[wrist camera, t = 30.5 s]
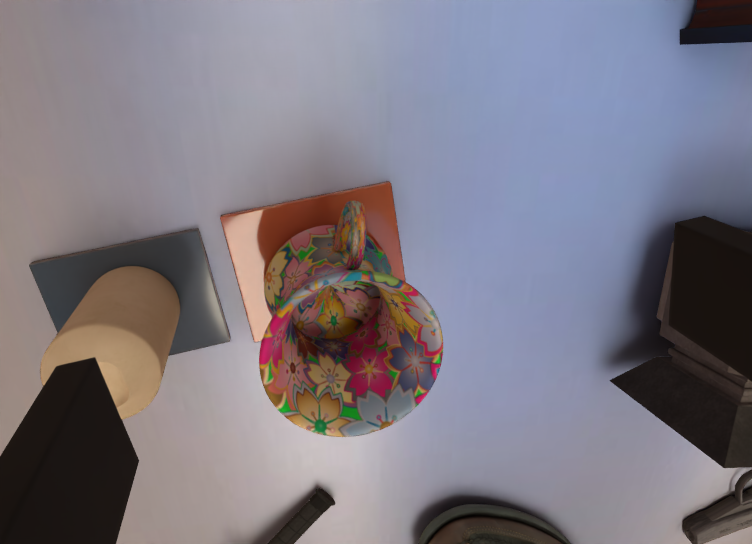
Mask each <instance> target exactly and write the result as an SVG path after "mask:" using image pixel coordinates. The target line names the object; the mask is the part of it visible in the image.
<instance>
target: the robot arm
mask: <svg viewBox="0 0 752 544" xmlns="http://www.w3.org/2000/svg"><path fill="white" fill-rule="evenodd" d="M668 325H669V326H670V327H672V328H673V329H675V330H676V331H678V332H679V333H681V334H682V335H684V336H685V337H687V338H688V339H690V340H691V341H693V342H694V343H696V344H697V345H699V346H700V347H702V348H703V349H705V350H706V351H707V352H709V353H710V354H712V355H713V356H715V357H716V358H718V359H719V360H721V361H722V362H724V363H725V364H727V365H728V366H730V367H731V368H733V369H734V370H736V371H737V372H739V373H740V374H741V375H743V376H744V377H746V378H747V379H749V380H750V381H752V234H751V233H748V232H746V231H743V230H740V229H738V228H735V227H732V226H730V225H727V224H724V223H722V222H719V221H717V220H714V219H711V218H709V217H706V216H702V217H698V218H693V219H689V220H685V221H680V222H676V223H675V230H674V245H673V261H672V277H671V292H670V308H669V323H668ZM138 462H139V460H138V457H137V455H136V452H135V450H134V448H133V445H132V443H131V441H130V438H129V436H128V434H127V431H126V429H125V426H124V424H123V422H122V419H121V417H120V415H119V412H118V410H117V408H116V405H115V403H114V400H113V398H112V396H111V393H110V391H109V389H108V386H107V384H106V382H105V379H104V377H103V375H102V372H101V370H100V367H99V365H98V363H97V360H96V358H95V357H93V358H89V359H84V360H80V361H76V362H71V363H67V364H63V365H59V366H56V367H55V369H54V370H53V372H52V374H51V375H50V377H49V378H48V380H47V382H46V383H45V385H44V387H43V388H42V390H41V391H40V393H39V395H38V396H37V398H36V400H35V401H34V403H33V404H32V406H31V408H30V409H29V411H28V412H27V414H26V416H25V417H24V419H23V421H22V422H21V424H20V425H19V427H18V429H17V430H16V432H15V434H14V435H13V437H12V438H11V440H10V442H9V443H8V445H7V446H6V448H5V450H4V451H3V453H2V455H1V456H0V544H116V541H117V538H118V534H119V531H120V527H121V523H122V520H123V516H124V513H125V509H126V505H127V502H128V498H129V495H130V491H131V487H132V484H133V480H134V477H135V473H136V469H137V466H138Z"/></svg>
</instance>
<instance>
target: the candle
mask: <svg viewBox="0 0 752 544" xmlns="http://www.w3.org/2000/svg"><path fill="white" fill-rule="evenodd" d="M179 315H180V303H179V298H178V295H177V292H176V290H175V289H174V287H173V285H172V284H171V283H170V282H169V281H168V280H167V279H166V278H165V277H163V276H162V275H161V274H159V273H157V272H155V271H153V270H151V269H148V268H144V267H139V266H125V267H120V268H116V269H113V270H111V271H109V272H107V273H106V274H104V275H103V276H101V277H100V278H99V279H98V280H97V281H96V282H95V283H94V284H93V285H92V287H91V288H90V289H89V291H88V292H87V294H86V295H85V296H84V298H83V299H82V301H81V302H80V303H79V305H78V306H77V308H76V309H75V310H74V312H73V313H72V315H71V316H70V317H69V319H68V320H67V322H66V323H65V324H64V326H63V327H62V329H61V330H60V331H59V333H58V334H57V336H56V337H55V339H54V340H53V341H52V343H51V344H50V346H49V347H48V349H47V350H46V352H45V354H44V356H43V358H42V362H41V368H40V374H41V381H42V385H43V387H44V385H45V383H46V382H47V380H48V378H49V377H50V375H51V374H52V372H53V370H54V369H55V367H56V366H59V365H63V364H67V363H71V362H76V361H80V360H84V359H89V358H93V357H95V358H96V360H97V363H98V365H99V367H100V370H101V372H102V375H103V377H104V379H105V382H106V384H107V386H108V389H109V391H110V393H111V396H112V398H113V400H114V403H115V405H116V408H117V410H118V412H119V415H120V417H121V419H125V418H128V417H131V416H133V415H135V414H137V413H138V412H140V411H142V410H143V409H144V408H145V407H147V406H148V405H149V404H150V402H151V401H152V400H153V399H154V397H155V396H156V394H157V392H158V390H159V386H160V383H161V380H162V376H163V373H164V369H165V366H166V362H167V359H168V355H169V352H170V348H171V345H172V341H173V338H174V334H175V331H176V327H177V324H178V320H179Z"/></svg>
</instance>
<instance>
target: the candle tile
mask: <svg viewBox="0 0 752 544" xmlns="http://www.w3.org/2000/svg"><path fill="white" fill-rule="evenodd" d="M125 266H139V267H144V268H148V269H151V270H153V271H155V272H157V273H159V274H161V275H162V276H163V277H165V278H166V279H167V280H168V281H169V282H170V283H171V284H172V285H173V287H174V289H175V290H176V292H177V295H178V298H179V303H180V315H179V320H178V324H177V327H176V331H175V334H174V338H173V341H172V345H171V348H170V352H169V355H174V354H178V353H182V352H187V351H191V350H195V349H199V348H204V347H208V346H212V345H217V344H221V343H225V342H229V341H230V334H229V331H228V327H227V324H226V321H225V317H224V314H223V310H222V307H221V303H220V300H219V297H218V293H217V290H216V286H215V283H214V280H213V276H212V273H211V269H210V266H209V262H208V259H207V256H206V252H205V249H204V245H203V242H202V238H201V235H200V232H199V229H198V228H195V229H190V230H185V231H180V232H175V233H170V234H166V235H161V236H156V237H151V238H146V239H141V240H136V241H131V242H127V243H122V244H117V245H112V246H107V247H102V248H97V249H92V250H88V251H83V252H78V253H73V254H68V255H63V256H58V257H53V258H49V259H44V260H39V261H34V262H32V263H31V264H29V267H30V269H31V271H32V274H33V276H34V278H35V281H36V283H37V285H38V288H39V290H40V292H41V295H42V297H43V299H44V302H45V304H46V306H47V309H48V311H49V313H50V316H51V318H52V320H53V323H54V325H55V327H56V330H57V332H58V333H59V331H60V330H61V329H62V327H63V326H64V324H65V323H66V322H67V320H68V319H69V317H70V316H71V315H72V313H73V312H74V310H75V309H76V308H77V306H78V305H79V303H80V302H81V301H82V299H83V298H84V296H85V295H86V294H87V292H88V291H89V289H90V288H91V287H92V285H93V284H94V283H95V282H96V281H97V280H98V279H99V278H100V277H101V276H103V275H104V274H106V273H107V272H109V271H111V270H113V269H116V268H120V267H125ZM169 355H168V356H169Z"/></svg>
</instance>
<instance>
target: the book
mask: <svg viewBox="0 0 752 544" xmlns="http://www.w3.org/2000/svg"><path fill="white" fill-rule="evenodd" d="M736 42H752V0H697V5H696V11H695V14H694V17H693V19H692V22H691V24H690V25H689V27H688V28H685V29H681V30H680V45H681V44H709V43H736Z"/></svg>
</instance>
